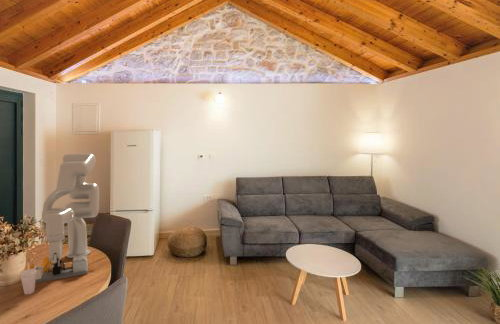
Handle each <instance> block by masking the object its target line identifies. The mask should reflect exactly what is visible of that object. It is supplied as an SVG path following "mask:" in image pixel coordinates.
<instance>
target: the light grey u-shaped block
mask: <svg viewBox="0 0 500 324" xmlns="http://www.w3.org/2000/svg"><path fill="white" fill-rule="evenodd" d="M33 269H36V270H37V273H36V280H37V279H41V278H42V276H43V265H42V266H39V265H38V264H34V268H33Z"/></svg>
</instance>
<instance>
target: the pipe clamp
mask: <svg viewBox="0 0 500 324" xmlns="http://www.w3.org/2000/svg"><path fill="white" fill-rule="evenodd" d="M42 265H43V273H45V272H48V270H47V269H48V265H53V263H52V261H51V262H49V256H45V257H43V260H42V263H40V264H38V266H42ZM34 267H35V264H30V263H29V269H33V268H34ZM25 270H28V264H26V265H25Z"/></svg>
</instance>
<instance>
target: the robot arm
mask: <svg viewBox="0 0 500 324" xmlns="http://www.w3.org/2000/svg"><path fill="white" fill-rule="evenodd" d="M96 162H97V158H96V156H95V155H94V154H93V153H67V154H64V155H63V156H62V163H61V164H60V166H59V170H58V175H57V181H56V182H57V183H56V187H55V189H54V190H53V191H52V192H51V193H50V194H48V196H47V197H46V198H45V201H44V202H43V206H42V211H41V212H42V213H41V219H42V221H43V222H44V223H45V228H46V242H48V257H49V262H51V263H52V265H53V275H57V274H60V273H61V270H60V264H61V263H63V261H62V258H63V250H64V249H63V246H64V245H63V241H64V240H65V239H66V237H65V224H67V235H68V237H67V239H68V241H67V242H68V252H66V254H65V255H66V256H65V257H66V258H68V259H73V258H74V257H79V256H86V255H87V256H88V255H90V254H91V249H89V248H88V234H87V223H86V221H85V219H86V218H96V217H98V214H99V210H100V187H99V185H98V184H97V183H94V182H87V176H89V175H90V174H91V172H92V171H93V169H94V167H95V166H96ZM67 195H68V196H69V198H70V199H72V200H89V201H72V202H69V203H67V204H66V205H65V207H61V208H60V207H59V208H57V207H56V208H53V207H54V203H56V201H57V200H59V199H60V198H62V197H65V196H67Z"/></svg>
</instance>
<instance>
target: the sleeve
mask: <svg viewBox="0 0 500 324" xmlns="http://www.w3.org/2000/svg"><path fill="white" fill-rule="evenodd" d="M72 262H73V273H77V272H83V271H87V266H88V255H86V256H79V257H74V258H72Z"/></svg>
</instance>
